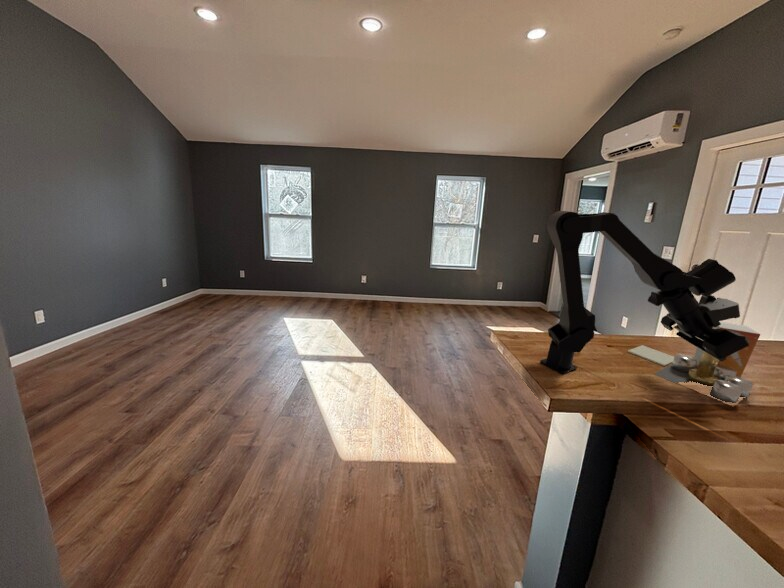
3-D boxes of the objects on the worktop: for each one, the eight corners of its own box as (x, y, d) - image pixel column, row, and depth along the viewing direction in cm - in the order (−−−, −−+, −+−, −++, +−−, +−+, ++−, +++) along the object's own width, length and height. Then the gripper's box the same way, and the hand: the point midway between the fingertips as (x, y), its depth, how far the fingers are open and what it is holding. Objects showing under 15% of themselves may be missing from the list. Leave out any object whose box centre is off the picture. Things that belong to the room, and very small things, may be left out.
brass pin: (711, 388, 75) (733, 337, 71) (683, 376, 80) (703, 328, 76) (719, 383, 78) (740, 334, 74) (692, 372, 82) (710, 325, 78)
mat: (733, 409, 70) (733, 407, 70) (652, 375, 82) (653, 373, 82) (753, 392, 77) (754, 390, 77) (676, 363, 89) (677, 361, 89)
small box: (701, 372, 85) (720, 327, 82) (690, 361, 91) (707, 319, 87) (741, 380, 83) (761, 333, 79) (727, 368, 88) (745, 325, 85)
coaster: (663, 367, 86) (664, 364, 86) (627, 353, 94) (627, 350, 93) (677, 361, 91) (678, 358, 91) (641, 347, 98) (642, 345, 98)
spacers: (735, 407, 70) (741, 394, 69) (654, 373, 82) (658, 361, 81) (755, 391, 77) (761, 378, 76) (678, 362, 89) (682, 351, 88)
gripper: (758, 299, 63) (796, 357, 65) (689, 277, 81) (721, 323, 83) (700, 330, 67) (738, 384, 69) (646, 303, 84) (677, 346, 86)
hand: (717, 356), depth 77 cm, fingers closed on brass pin, 3 cm apart
